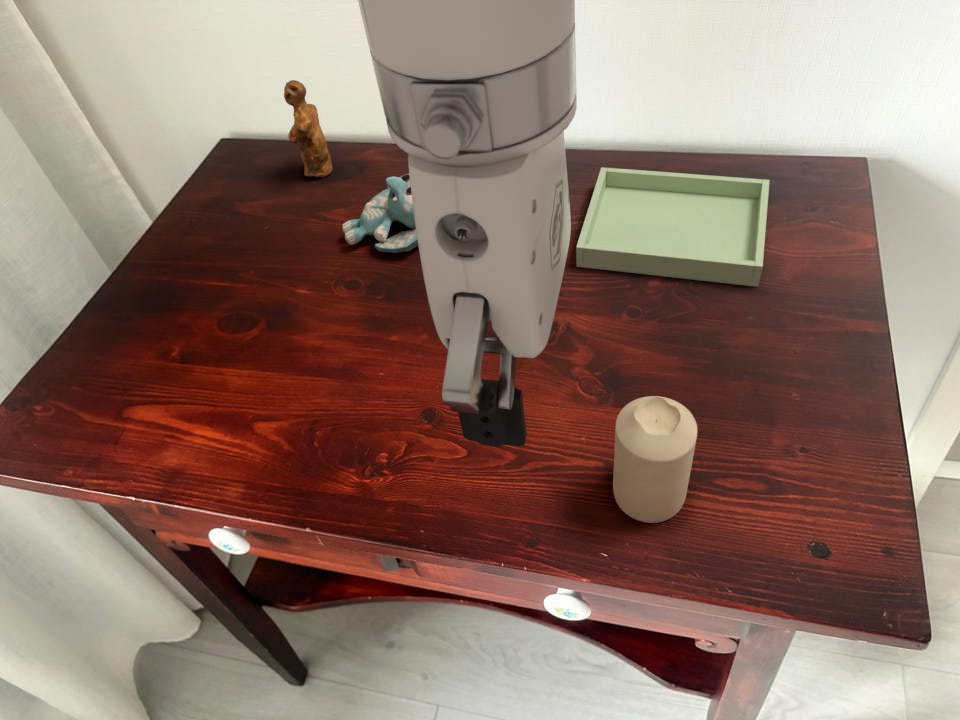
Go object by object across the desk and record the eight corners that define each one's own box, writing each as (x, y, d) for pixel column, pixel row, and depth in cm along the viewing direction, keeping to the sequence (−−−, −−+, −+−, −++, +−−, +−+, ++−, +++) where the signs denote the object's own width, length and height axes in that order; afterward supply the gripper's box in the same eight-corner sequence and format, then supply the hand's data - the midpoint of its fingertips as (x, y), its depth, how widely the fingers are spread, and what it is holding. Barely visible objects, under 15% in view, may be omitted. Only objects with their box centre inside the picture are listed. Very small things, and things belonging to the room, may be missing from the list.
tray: (765, 200, 79) (769, 179, 77) (758, 287, 71) (762, 266, 69) (600, 186, 84) (601, 167, 82) (576, 266, 76) (575, 247, 74)
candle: (608, 517, 57) (611, 442, 49) (617, 457, 60) (621, 378, 53) (683, 529, 56) (697, 453, 48) (687, 467, 59) (702, 387, 52)
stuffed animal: (318, 179, 81) (419, 132, 81) (346, 226, 87) (440, 182, 86) (336, 237, 74) (446, 186, 74) (365, 285, 80) (468, 237, 79)
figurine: (290, 182, 91) (257, 91, 82) (316, 156, 94) (287, 65, 85) (321, 189, 89) (291, 97, 80) (347, 162, 93) (321, 70, 84)
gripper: (535, 226, 22) (557, 514, 35) (601, -24, 33) (600, 265, 46) (304, 215, 24) (405, 493, 37) (439, -20, 35) (481, 258, 48)
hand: (513, 367), depth 41 cm, fingers open, 9 cm apart
